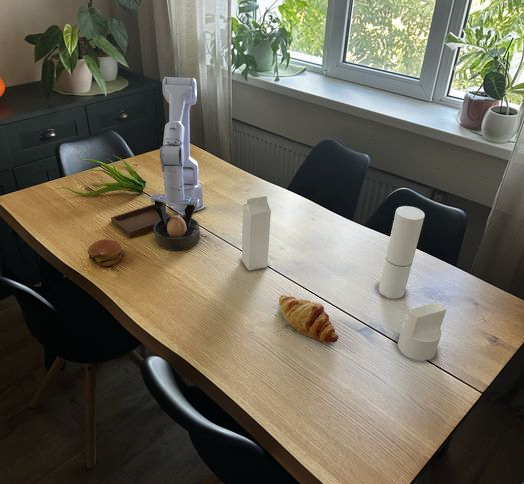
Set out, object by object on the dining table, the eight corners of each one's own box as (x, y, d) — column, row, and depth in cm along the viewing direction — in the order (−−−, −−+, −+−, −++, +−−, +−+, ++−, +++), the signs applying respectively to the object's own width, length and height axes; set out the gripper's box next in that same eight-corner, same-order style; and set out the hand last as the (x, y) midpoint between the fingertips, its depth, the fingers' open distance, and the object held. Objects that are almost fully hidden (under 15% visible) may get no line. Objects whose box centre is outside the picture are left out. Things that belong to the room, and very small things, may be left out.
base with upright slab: (413, 364, 117) (424, 326, 110) (390, 340, 124) (400, 302, 117) (443, 354, 120) (456, 317, 113) (419, 331, 127) (430, 294, 120)
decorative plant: (83, 177, 192) (76, 140, 184) (150, 191, 184) (146, 153, 176) (51, 195, 178) (43, 156, 170) (122, 212, 171) (117, 172, 162)
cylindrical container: (405, 286, 142) (425, 209, 128) (402, 301, 137) (423, 221, 123) (380, 281, 144) (397, 204, 130) (376, 294, 139) (394, 216, 124)
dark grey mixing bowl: (183, 223, 166) (183, 211, 164) (208, 241, 158) (208, 229, 155) (146, 236, 158) (144, 224, 156) (170, 256, 150) (169, 243, 147)
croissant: (271, 316, 134) (261, 301, 128) (296, 290, 136) (287, 274, 130) (327, 360, 121) (319, 345, 115) (354, 331, 123) (347, 315, 117)
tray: (154, 209, 174) (153, 203, 172) (173, 223, 166) (173, 217, 165) (111, 222, 165) (110, 217, 163) (129, 238, 157) (129, 232, 156)
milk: (267, 267, 148) (272, 200, 135) (248, 271, 145) (251, 204, 133) (259, 256, 152) (263, 191, 139) (241, 260, 150) (243, 194, 137)
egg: (186, 243, 156) (185, 220, 151) (167, 243, 155) (165, 220, 151) (187, 233, 161) (186, 211, 156) (168, 233, 160) (166, 211, 155)
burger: (119, 246, 153) (117, 233, 150) (126, 262, 146) (124, 249, 143) (86, 253, 149) (84, 240, 147) (91, 270, 142) (89, 256, 140)
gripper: (145, 187, 145) (149, 228, 152) (194, 193, 143) (195, 233, 151) (153, 178, 150) (157, 217, 158) (200, 183, 149) (201, 222, 157)
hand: (176, 224), depth 155 cm, fingers open, 7 cm apart
